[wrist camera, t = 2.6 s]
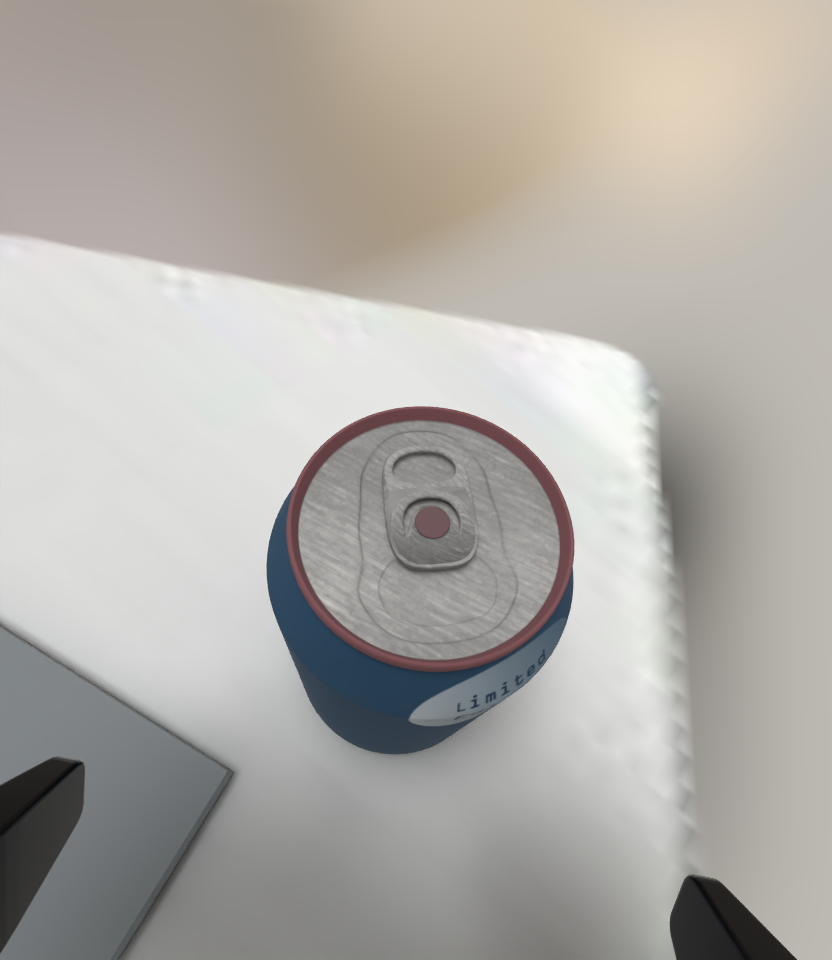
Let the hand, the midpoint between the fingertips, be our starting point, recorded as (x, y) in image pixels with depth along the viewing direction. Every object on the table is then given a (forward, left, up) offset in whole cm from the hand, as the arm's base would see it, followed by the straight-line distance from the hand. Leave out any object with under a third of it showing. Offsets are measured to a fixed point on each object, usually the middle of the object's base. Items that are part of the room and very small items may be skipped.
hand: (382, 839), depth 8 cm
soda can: (+2, -5, -12) cm, 13 cm away
